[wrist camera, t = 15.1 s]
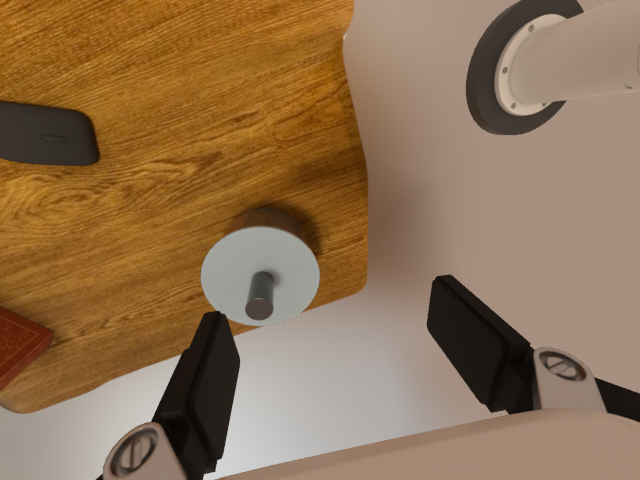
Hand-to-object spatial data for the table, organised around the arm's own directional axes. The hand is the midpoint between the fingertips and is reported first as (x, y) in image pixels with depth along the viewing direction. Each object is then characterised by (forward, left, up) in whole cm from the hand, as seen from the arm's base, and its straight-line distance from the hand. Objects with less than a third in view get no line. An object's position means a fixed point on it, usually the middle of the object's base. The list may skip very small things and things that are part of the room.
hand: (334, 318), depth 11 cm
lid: (+6, +9, -19) cm, 22 cm away
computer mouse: (+30, -10, -29) cm, 43 cm away
